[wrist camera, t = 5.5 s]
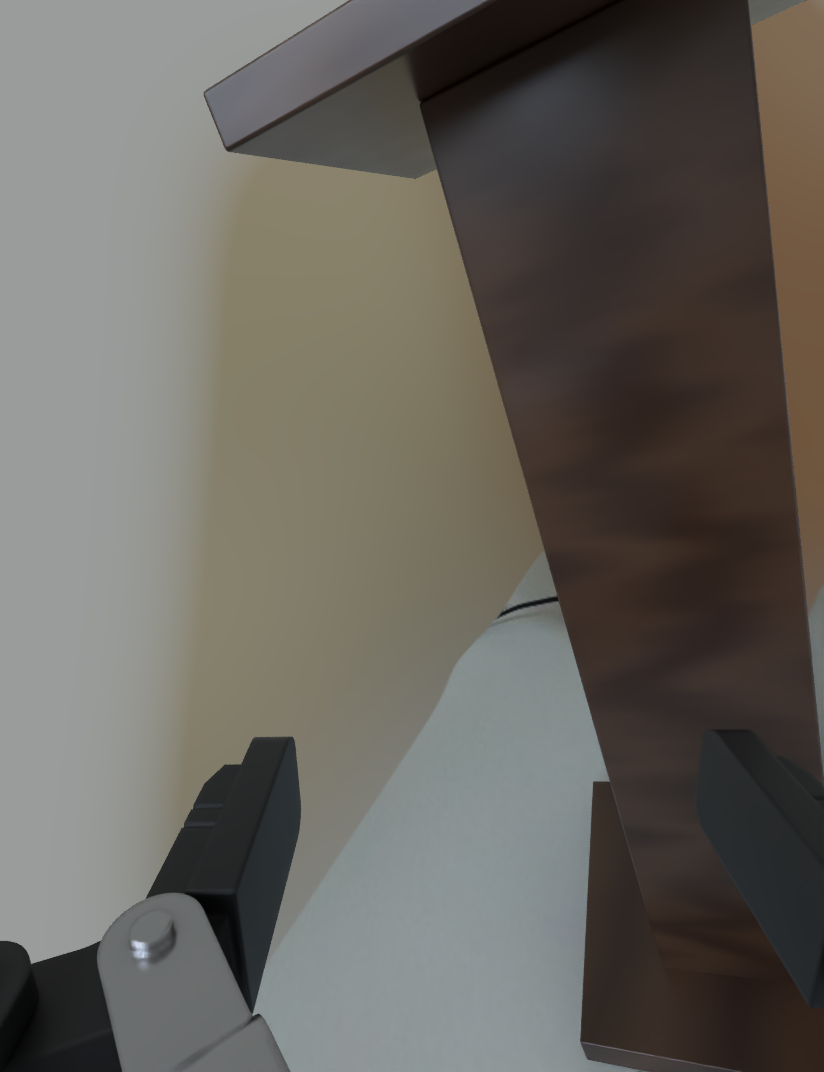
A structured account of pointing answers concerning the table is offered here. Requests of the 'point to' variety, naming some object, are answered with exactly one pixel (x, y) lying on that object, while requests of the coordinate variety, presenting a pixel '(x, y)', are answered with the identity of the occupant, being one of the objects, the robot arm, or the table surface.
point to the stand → (614, 427)
